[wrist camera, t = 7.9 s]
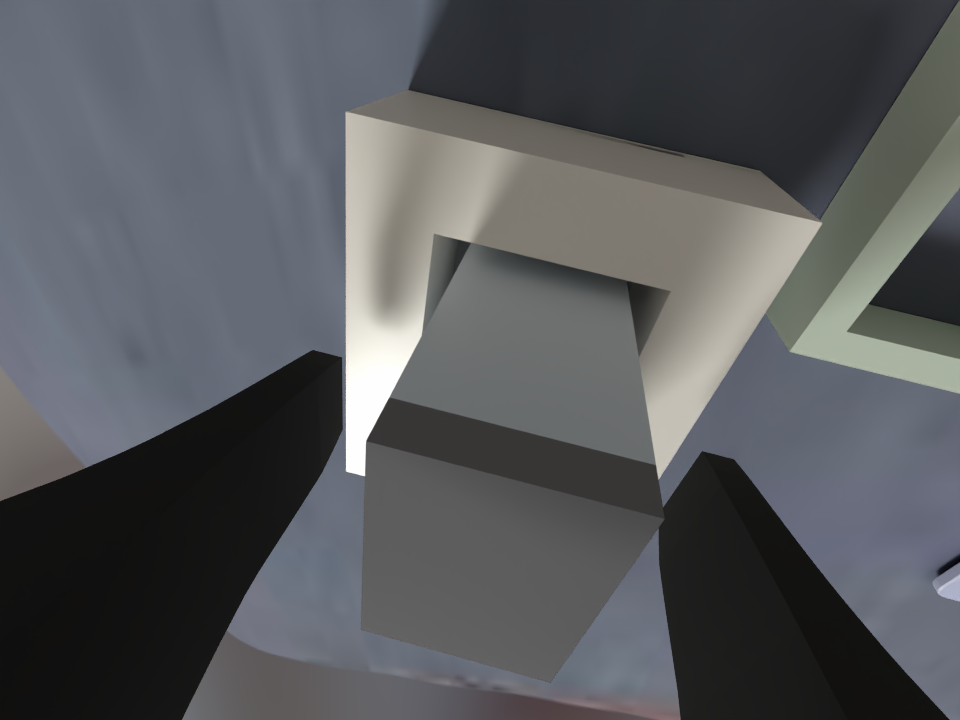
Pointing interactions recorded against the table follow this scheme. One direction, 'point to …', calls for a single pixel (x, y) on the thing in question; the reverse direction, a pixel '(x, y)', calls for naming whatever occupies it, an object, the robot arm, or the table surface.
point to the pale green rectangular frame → (884, 236)
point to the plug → (510, 467)
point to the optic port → (556, 242)
